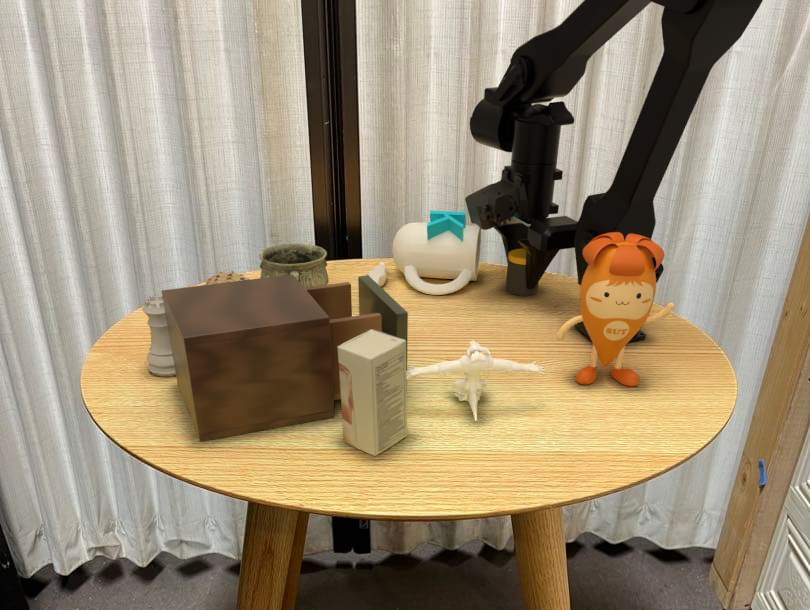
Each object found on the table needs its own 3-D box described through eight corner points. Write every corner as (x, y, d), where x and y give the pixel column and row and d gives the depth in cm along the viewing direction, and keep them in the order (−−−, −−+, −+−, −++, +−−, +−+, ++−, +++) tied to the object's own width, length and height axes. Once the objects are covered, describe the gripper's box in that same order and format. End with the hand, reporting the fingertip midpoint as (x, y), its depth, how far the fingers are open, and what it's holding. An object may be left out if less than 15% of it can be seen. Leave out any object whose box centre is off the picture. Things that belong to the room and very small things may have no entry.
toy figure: (553, 388, 89) (571, 248, 80) (548, 357, 96) (565, 224, 87) (664, 393, 89) (695, 252, 80) (652, 361, 95) (679, 228, 86)
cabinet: (299, 367, 93) (292, 274, 87) (334, 417, 84) (329, 317, 77) (177, 386, 89) (161, 290, 82) (200, 441, 80) (183, 337, 73)
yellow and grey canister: (528, 283, 115) (531, 246, 112) (543, 293, 112) (547, 256, 109) (500, 287, 114) (502, 250, 111) (515, 297, 111) (518, 260, 108)
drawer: (379, 349, 95) (378, 273, 90) (417, 391, 86) (419, 310, 81) (262, 367, 91) (254, 289, 85) (291, 414, 82) (284, 330, 77)
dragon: (534, 374, 89) (549, 324, 82) (544, 429, 86) (561, 383, 79) (396, 379, 88) (399, 329, 81) (401, 436, 85) (405, 389, 78)
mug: (394, 197, 113) (481, 202, 111) (398, 251, 121) (480, 256, 119) (379, 257, 107) (471, 263, 105) (385, 309, 115) (470, 315, 113)
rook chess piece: (153, 381, 90) (140, 310, 85) (144, 365, 93) (130, 295, 88) (194, 373, 92) (183, 303, 87) (183, 357, 95) (172, 289, 90)
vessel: (332, 316, 105) (330, 267, 101) (262, 319, 104) (257, 270, 100) (326, 283, 114) (324, 237, 111) (262, 286, 113) (257, 239, 110)
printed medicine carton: (374, 422, 83) (373, 327, 77) (408, 437, 81) (409, 339, 75) (339, 442, 80) (334, 344, 74) (373, 458, 77) (371, 358, 71)
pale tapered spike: (373, 271, 119) (373, 258, 117) (391, 272, 118) (391, 259, 117) (354, 310, 107) (353, 296, 106) (374, 311, 106) (374, 297, 105)
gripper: (444, 149, 108) (440, 268, 117) (511, 183, 94) (500, 315, 103) (520, 142, 111) (510, 259, 120) (595, 175, 97) (577, 304, 107)
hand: (522, 283), depth 112 cm, fingers closed on yellow and grey canister, 4 cm apart
